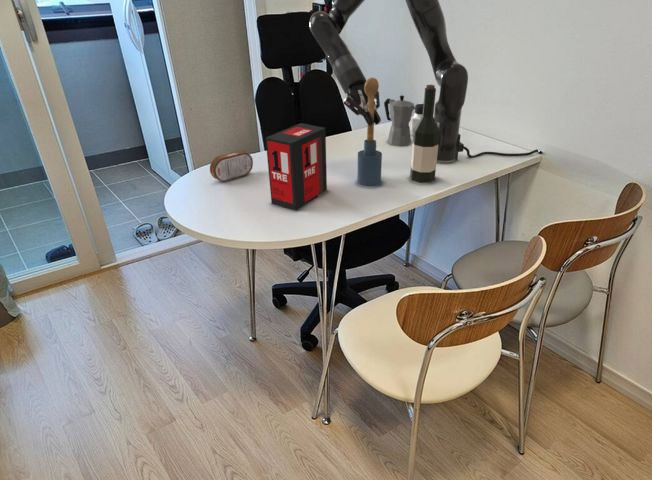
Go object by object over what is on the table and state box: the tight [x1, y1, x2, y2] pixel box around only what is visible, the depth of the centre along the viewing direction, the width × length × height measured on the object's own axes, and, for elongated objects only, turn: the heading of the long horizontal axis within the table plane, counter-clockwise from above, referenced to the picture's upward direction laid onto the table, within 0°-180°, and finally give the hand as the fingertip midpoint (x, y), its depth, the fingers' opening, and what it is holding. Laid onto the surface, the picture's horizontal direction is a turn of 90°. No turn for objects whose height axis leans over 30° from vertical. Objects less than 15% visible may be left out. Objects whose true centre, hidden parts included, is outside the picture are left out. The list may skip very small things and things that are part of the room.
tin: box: [209, 149, 254, 182], centre depth 161 cm, size 15×3×8 cm, turn 135°
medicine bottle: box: [410, 102, 424, 137], centre depth 203 cm, size 7×7×12 cm
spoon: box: [364, 77, 380, 143], centre depth 151 cm, size 2×5×28 cm, turn 132°
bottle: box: [356, 139, 383, 187], centre depth 158 cm, size 8×8×14 cm
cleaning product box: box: [265, 122, 328, 211], centre depth 146 cm, size 16×9×20 cm, turn 150°
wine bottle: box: [409, 84, 440, 184], centre depth 156 cm, size 8×8×30 cm
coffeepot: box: [383, 94, 416, 147], centre depth 192 cm, size 15×9×18 cm, turn 44°
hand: (375, 123), depth 150 cm, fingers closed on spoon, 2 cm apart
